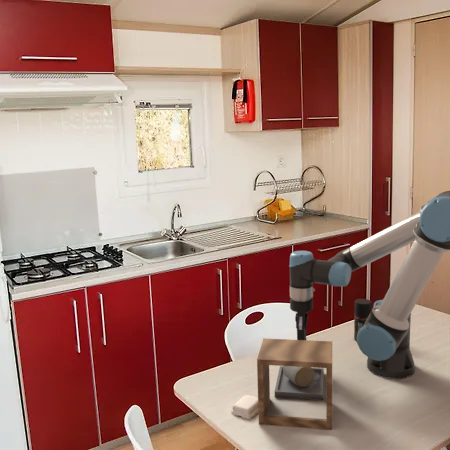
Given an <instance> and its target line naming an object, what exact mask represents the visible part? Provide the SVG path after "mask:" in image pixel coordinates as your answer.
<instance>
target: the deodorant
mask: <svg viewBox="0 0 450 450" xmlns="http://www.w3.org/2000/svg"><path fill="white" fill-rule="evenodd" d="M371 311H372V300H370V299H368V298H367V299H366V298H356V299H355V300H354V321H353V322H354V326H353V327H354V333H353V335H354V336H353V337H354V338H353V339H354V341H355V342H357V334H358V331H359V329H360V328H361V327H362V326H363V325H364V324H365V322H366V320H367V318H368V316H369V314H370V313H371Z"/></svg>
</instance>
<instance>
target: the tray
mask: <svg viewBox="0 0 450 450" xmlns="http://www.w3.org/2000/svg"><path fill="white" fill-rule="evenodd" d="M311 368H312V369H313V371H314V372H316V373H317V374H318V375H319V379H318V381H312V382H311V383H310V384H309V385H308V386H306V387H299V386H297V385H296V384H294V383H293V382H292V381H291V380H290V379H289V378H287V377H286V376H285V375H284V373H283V366H279V368H278V375H277V378H276V384H275V388H274V397H275V398H285V399H288V398H289V399H301V400H303V399H305V400H317V401H323V399H324V379H325V378H324V377H325V376H324V374H325V372H324V371H325V368H314V367H311Z"/></svg>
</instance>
